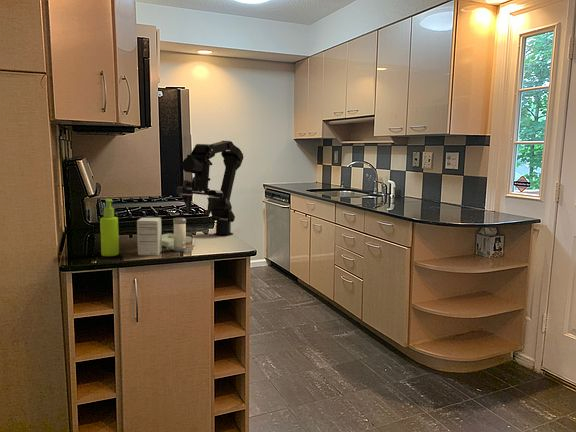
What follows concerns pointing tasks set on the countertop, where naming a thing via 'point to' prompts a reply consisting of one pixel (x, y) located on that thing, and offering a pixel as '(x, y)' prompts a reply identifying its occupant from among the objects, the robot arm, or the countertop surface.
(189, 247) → the blocks
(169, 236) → the tray
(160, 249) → the supplement box
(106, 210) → the soap dispenser
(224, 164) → the robot arm
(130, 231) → the countertop surface
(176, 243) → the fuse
